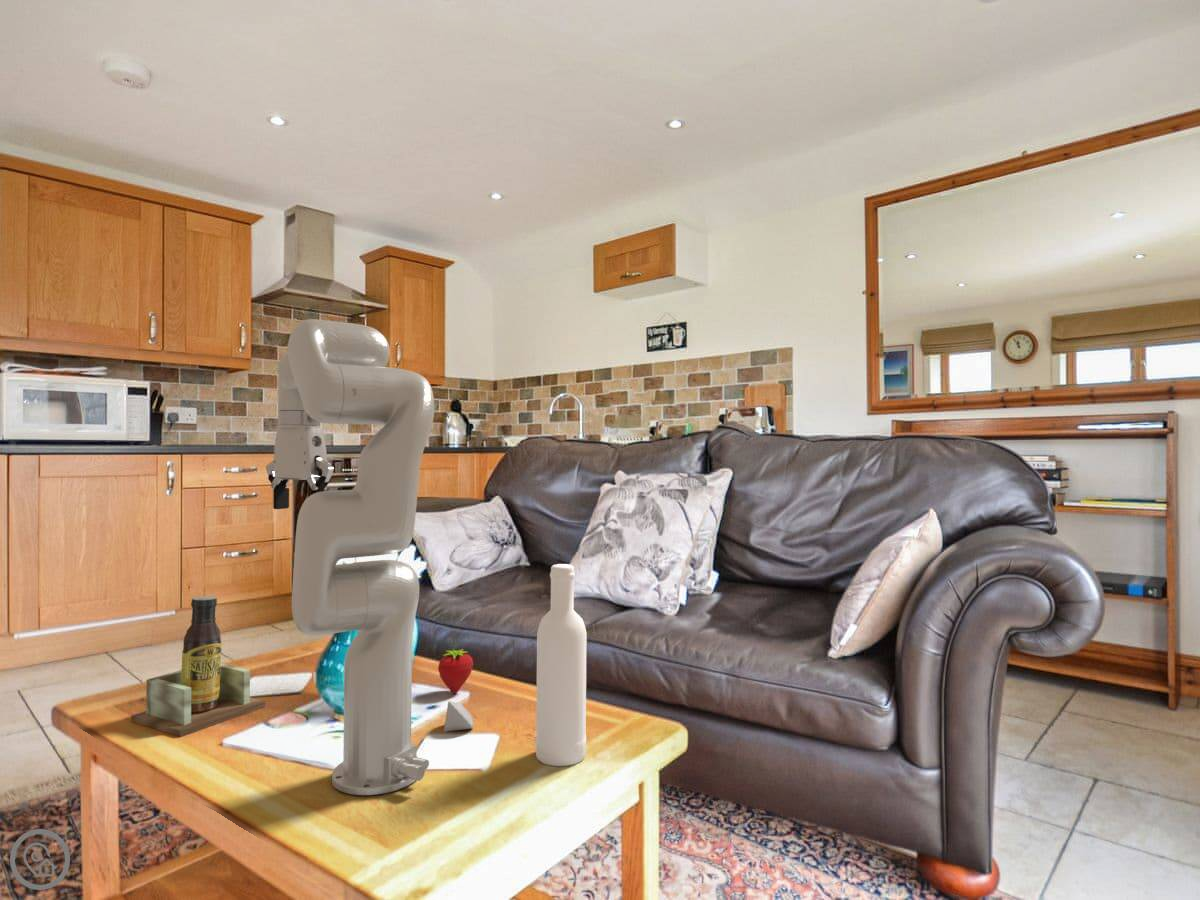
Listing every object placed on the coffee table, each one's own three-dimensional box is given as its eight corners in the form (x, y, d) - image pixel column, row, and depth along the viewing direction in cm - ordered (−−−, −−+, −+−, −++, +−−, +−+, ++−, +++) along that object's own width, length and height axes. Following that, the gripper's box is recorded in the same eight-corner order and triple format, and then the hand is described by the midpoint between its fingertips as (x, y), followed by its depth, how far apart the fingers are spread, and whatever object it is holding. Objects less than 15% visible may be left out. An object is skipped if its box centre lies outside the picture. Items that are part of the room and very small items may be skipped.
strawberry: (480, 690, 143) (480, 640, 143) (452, 701, 137) (452, 649, 137) (458, 685, 147) (459, 636, 147) (430, 695, 141) (431, 644, 141)
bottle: (595, 753, 114) (597, 564, 114) (566, 771, 108) (567, 571, 108) (556, 741, 119) (557, 560, 119) (525, 758, 112) (526, 566, 112)
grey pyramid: (426, 713, 124) (448, 691, 126) (445, 733, 127) (467, 712, 129) (441, 729, 119) (464, 706, 121) (461, 751, 122) (483, 728, 124)
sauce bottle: (189, 717, 125) (190, 603, 125) (173, 709, 129) (174, 598, 129) (227, 707, 131) (228, 597, 131) (211, 699, 134) (212, 593, 134)
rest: (265, 706, 134) (265, 668, 134) (180, 736, 119) (180, 694, 119) (216, 694, 140) (217, 658, 140) (131, 721, 126) (131, 681, 126)
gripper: (347, 421, 138) (346, 510, 138) (284, 422, 146) (284, 506, 146) (315, 419, 132) (314, 513, 132) (251, 420, 139) (251, 509, 139)
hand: (298, 509), depth 139 cm, fingers open, 9 cm apart
